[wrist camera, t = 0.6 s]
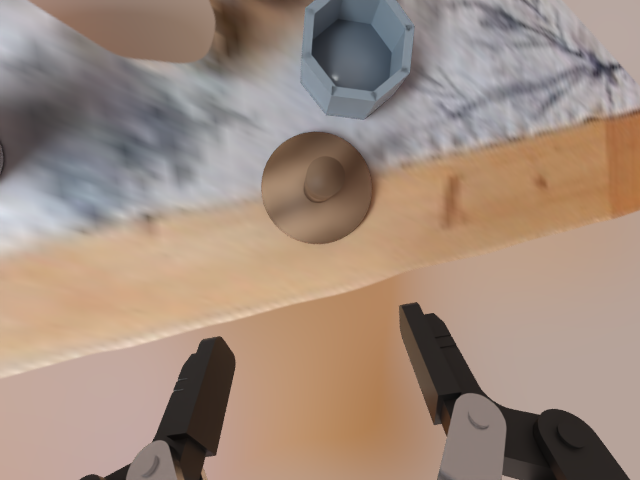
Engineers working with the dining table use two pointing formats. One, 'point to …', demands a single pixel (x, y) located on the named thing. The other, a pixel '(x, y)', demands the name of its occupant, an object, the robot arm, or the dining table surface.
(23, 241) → the dining table surface
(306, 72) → the ceramic bowl
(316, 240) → the walnut lid
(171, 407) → the robot arm
